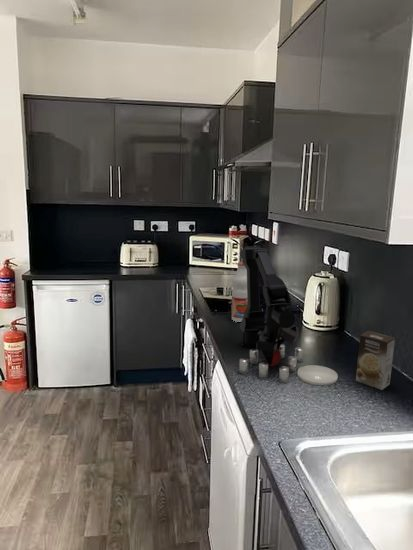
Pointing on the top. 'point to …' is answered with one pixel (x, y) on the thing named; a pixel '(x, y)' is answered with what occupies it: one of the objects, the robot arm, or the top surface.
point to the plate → (317, 375)
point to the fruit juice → (239, 293)
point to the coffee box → (375, 359)
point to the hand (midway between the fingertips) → (272, 361)
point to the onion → (275, 358)
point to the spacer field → (264, 366)
